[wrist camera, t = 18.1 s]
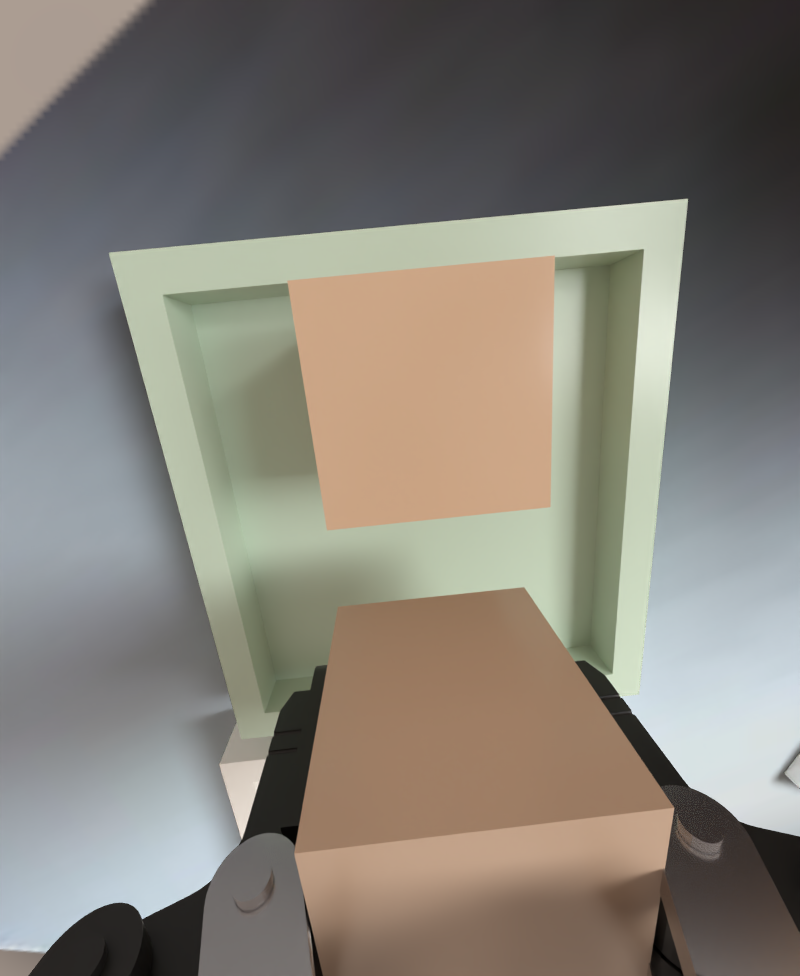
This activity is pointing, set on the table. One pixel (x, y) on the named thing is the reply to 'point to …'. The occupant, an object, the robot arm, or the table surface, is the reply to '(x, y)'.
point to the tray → (419, 544)
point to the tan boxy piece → (429, 389)
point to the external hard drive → (794, 771)
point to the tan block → (474, 801)
